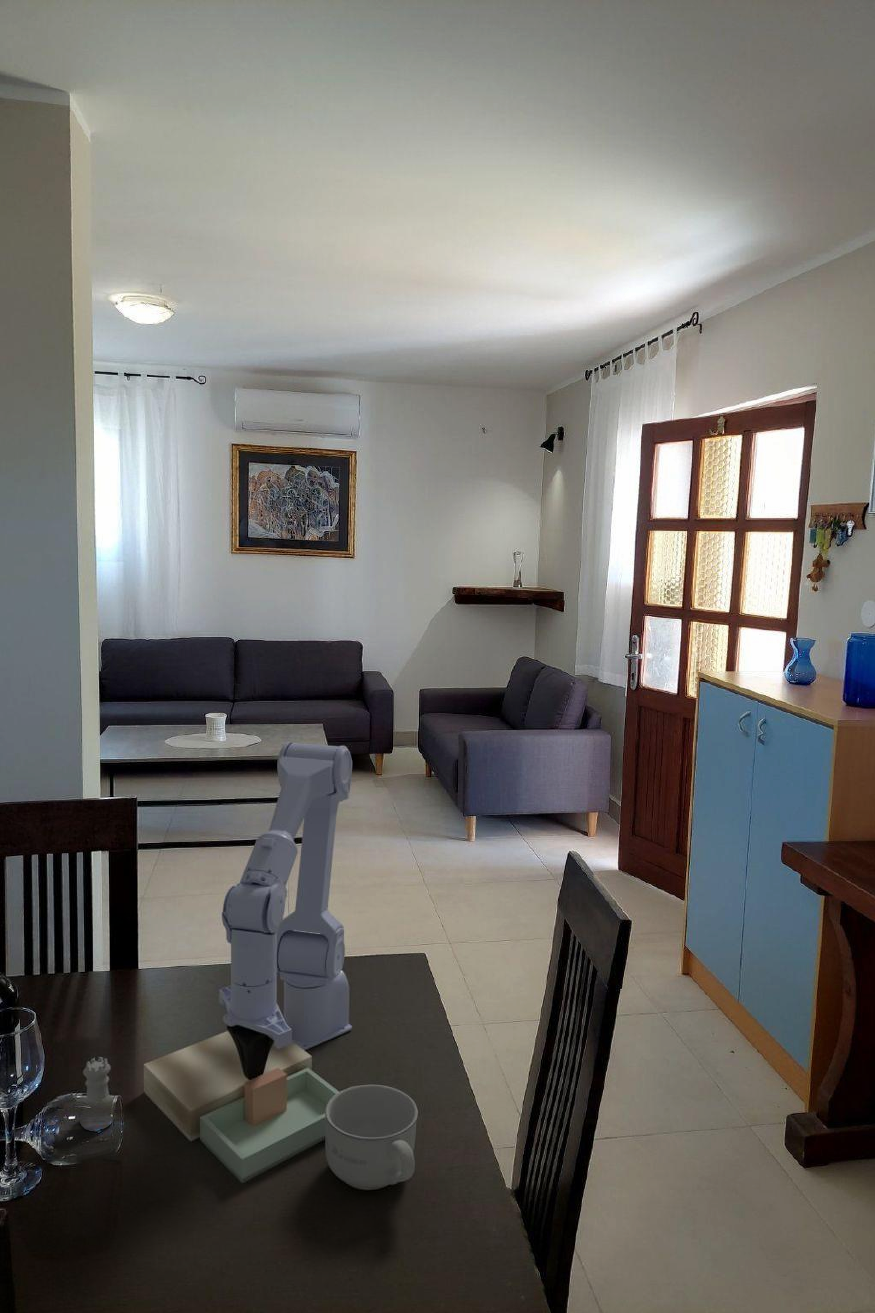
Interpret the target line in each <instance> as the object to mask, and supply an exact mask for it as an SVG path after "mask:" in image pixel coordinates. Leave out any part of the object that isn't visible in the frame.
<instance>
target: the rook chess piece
mask: <svg viewBox="0 0 875 1313" xmlns="http://www.w3.org/2000/svg"><path fill="white" fill-rule="evenodd" d="M85 1066H86V1067H85V1068H84V1069H83V1071H82V1074H83V1076H84V1077H85V1078H86V1081H85V1086H86V1089H87V1090H86V1096H87V1098H88V1100H89V1101H91V1102H101V1101H103V1100H102V1099H105V1098H106V1097H107V1096H110V1094H109V1086H108V1082H109V1081H110V1078H109V1076H108V1074H109V1072H110V1071H111V1070H112V1067H111V1065H110V1064H109V1063H108V1059H107V1058H103V1056H102V1057H101V1056H98V1059H97V1060H96V1059H95V1057H93V1058H91V1059H90V1061H87V1062H86V1064H85Z"/></svg>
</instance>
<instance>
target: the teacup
mask: <svg viewBox="0 0 875 1313" xmlns="http://www.w3.org/2000/svg"><path fill="white" fill-rule="evenodd" d="M418 1110H419V1109H418V1107H417V1104H416V1103H415V1101H414V1100H413V1098H411V1097H410V1095H408V1094H406V1092H403V1091H402V1090H399V1089H397V1088H395V1087H391V1086H388V1085H382V1084H365V1085H364V1084H361V1085H355V1086H350V1087H349V1088H345V1089H343V1090H340V1091H339V1093H337V1094H336V1095H334V1096H333V1097H332V1098H331V1099H330V1101H329V1102H328V1104H327V1106H326V1110H325V1116H326V1131H325V1140H324V1142H325V1146H324V1147H325V1148H324V1149H325V1157H326V1161H327V1164H328V1167H329V1168H330V1170H331V1171H332V1172H333V1174H334V1175H335V1176H336V1177H337V1178H339V1180H341V1181H343V1182H345V1184H347V1185H349V1186H350V1187H352V1188H354V1189H355V1188H356V1189H359V1190H365V1191H371V1190H372V1191H373V1190H379V1189H382V1188H385V1187H387V1186H389V1185H395V1184H398V1183H400V1182H406V1181H408V1180H410V1178H411V1177H413V1175H414V1173H415V1169H416V1165H415V1156H414V1150H415V1142H416V1131H417V1129H416V1128H417V1120H418V1117H419V1112H418Z"/></svg>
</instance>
